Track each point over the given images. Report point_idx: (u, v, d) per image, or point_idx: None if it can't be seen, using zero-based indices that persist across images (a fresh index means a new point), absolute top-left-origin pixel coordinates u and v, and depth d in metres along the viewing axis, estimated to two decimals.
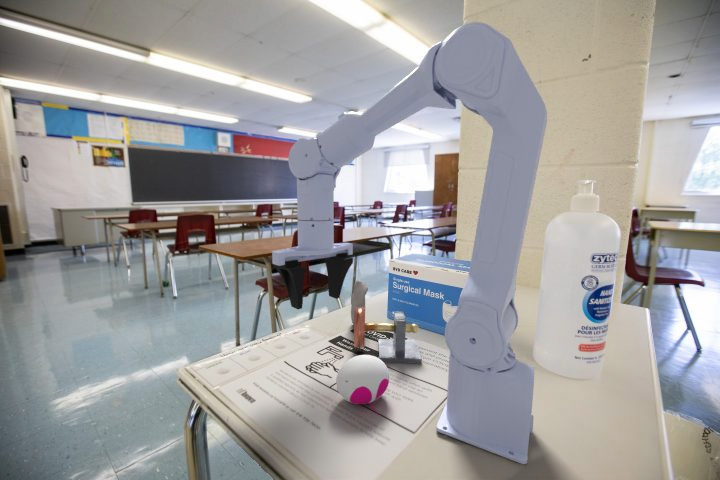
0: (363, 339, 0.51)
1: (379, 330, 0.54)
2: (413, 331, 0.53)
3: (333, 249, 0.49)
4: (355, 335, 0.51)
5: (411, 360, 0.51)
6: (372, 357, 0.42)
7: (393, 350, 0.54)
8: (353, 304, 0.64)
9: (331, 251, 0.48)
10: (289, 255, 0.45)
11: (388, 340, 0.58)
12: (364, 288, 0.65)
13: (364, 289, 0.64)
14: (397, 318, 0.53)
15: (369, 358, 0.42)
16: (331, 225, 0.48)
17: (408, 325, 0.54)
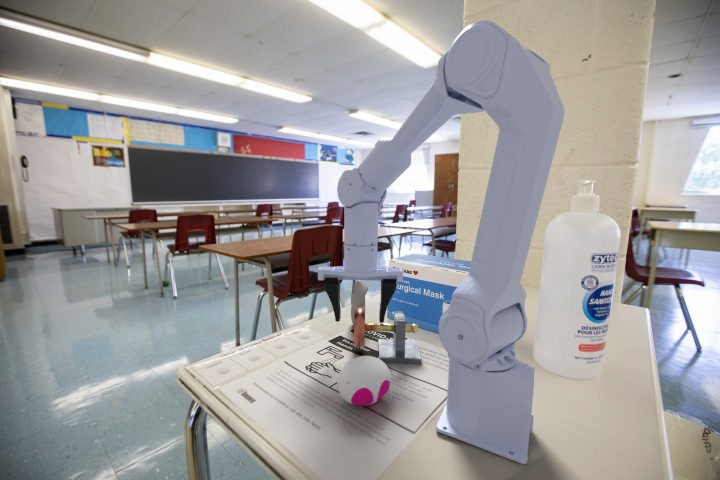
0: (363, 339, 0.51)
1: (379, 330, 0.54)
2: (413, 331, 0.53)
3: (368, 274, 0.50)
4: (355, 335, 0.51)
5: (411, 360, 0.51)
6: (373, 358, 0.42)
7: (393, 350, 0.54)
8: (353, 304, 0.64)
9: (365, 275, 0.50)
10: (327, 273, 0.52)
11: (388, 340, 0.58)
12: (364, 288, 0.65)
13: (364, 289, 0.64)
14: (397, 318, 0.53)
15: (370, 359, 0.41)
16: (367, 250, 0.50)
17: (408, 325, 0.54)
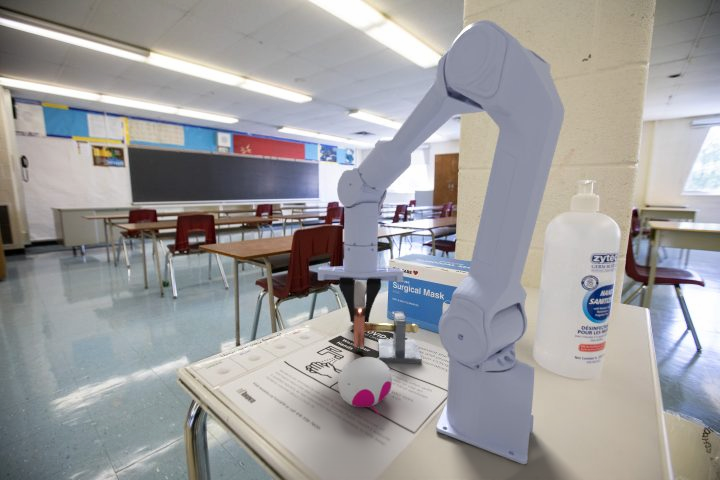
0: (363, 339, 0.51)
1: (378, 330, 0.54)
2: (413, 331, 0.53)
3: (368, 274, 0.50)
4: (355, 335, 0.51)
5: (411, 360, 0.51)
6: (374, 359, 0.42)
7: (393, 350, 0.54)
8: None
9: (365, 275, 0.50)
10: (327, 273, 0.52)
11: (388, 340, 0.58)
12: (364, 288, 0.65)
13: (364, 289, 0.64)
14: (397, 318, 0.53)
15: (371, 360, 0.41)
16: (367, 250, 0.50)
17: (408, 325, 0.54)
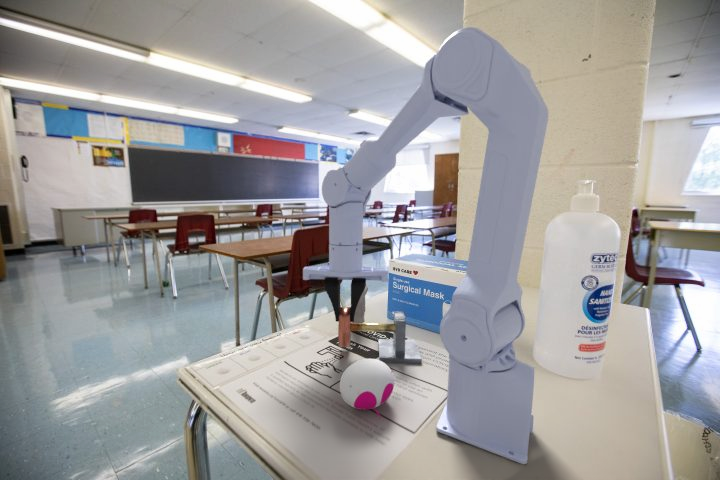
0: (348, 339, 0.51)
1: (364, 329, 0.54)
2: None
3: (353, 273, 0.50)
4: (340, 335, 0.51)
5: (411, 360, 0.51)
6: (376, 361, 0.41)
7: (393, 350, 0.54)
8: None
9: (349, 275, 0.50)
10: (312, 272, 0.52)
11: (388, 340, 0.58)
12: None
13: (364, 289, 0.64)
14: (397, 318, 0.53)
15: (373, 362, 0.41)
16: (351, 250, 0.50)
17: (393, 325, 0.54)
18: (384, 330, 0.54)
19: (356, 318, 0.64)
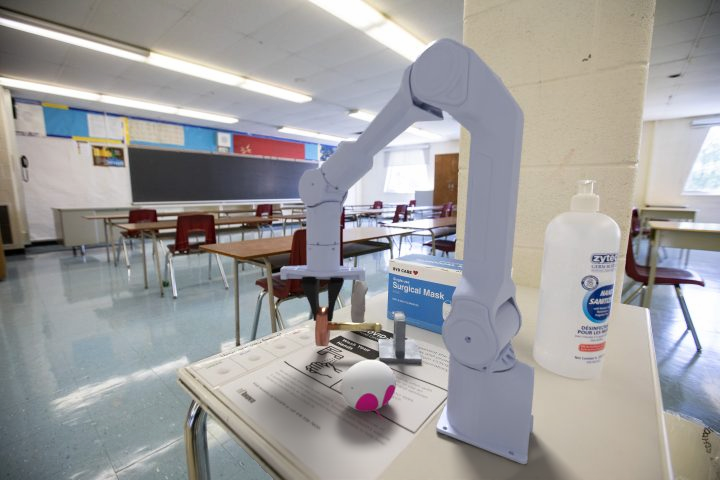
0: (324, 338, 0.51)
1: (342, 329, 0.54)
2: (376, 330, 0.54)
3: (329, 273, 0.50)
4: (316, 334, 0.51)
5: (411, 360, 0.51)
6: (378, 362, 0.41)
7: (393, 350, 0.54)
8: (353, 304, 0.64)
9: (326, 274, 0.50)
10: (289, 272, 0.52)
11: (388, 340, 0.58)
12: (364, 288, 0.65)
13: (364, 289, 0.64)
14: (397, 318, 0.53)
15: (375, 363, 0.40)
16: (327, 250, 0.50)
17: (371, 324, 0.54)
18: (362, 329, 0.54)
19: (356, 318, 0.64)
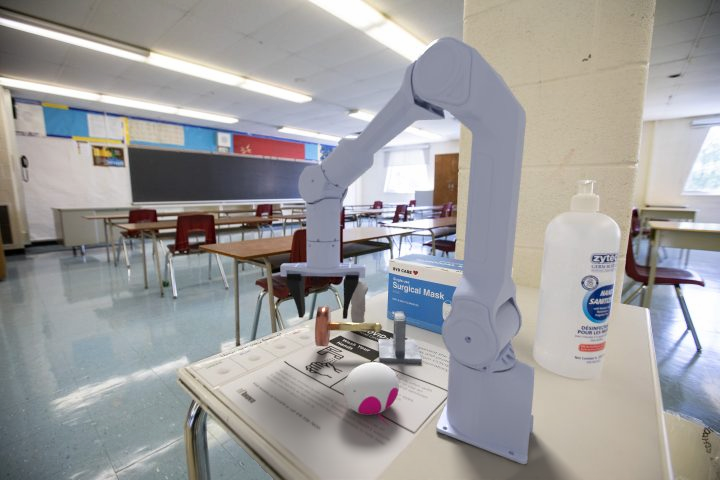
0: (324, 338, 0.51)
1: (342, 329, 0.54)
2: (376, 330, 0.54)
3: (329, 270, 0.50)
4: (316, 334, 0.51)
5: (411, 360, 0.51)
6: (381, 365, 0.40)
7: (393, 350, 0.54)
8: (353, 304, 0.64)
9: (326, 271, 0.50)
10: (289, 269, 0.52)
11: (388, 340, 0.58)
12: (364, 288, 0.65)
13: (364, 289, 0.64)
14: (397, 318, 0.53)
15: (377, 366, 0.40)
16: (327, 246, 0.50)
17: (371, 324, 0.54)
18: (362, 329, 0.54)
19: (356, 318, 0.64)
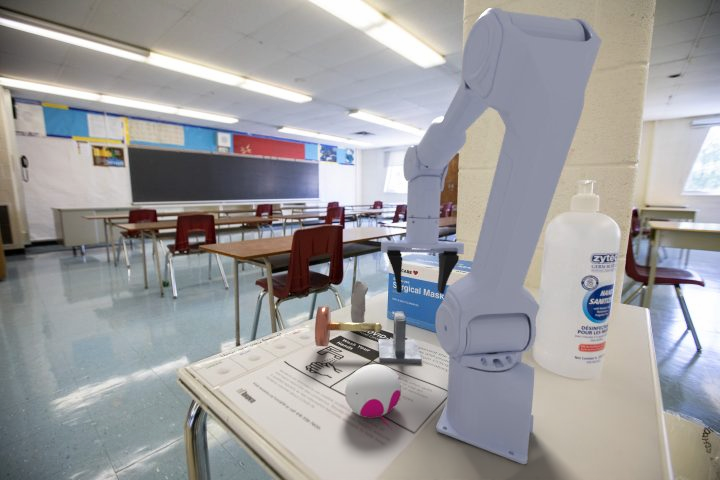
0: (324, 338, 0.51)
1: (342, 329, 0.54)
2: (376, 330, 0.54)
3: (432, 245, 0.52)
4: (316, 334, 0.51)
5: (411, 360, 0.51)
6: (383, 367, 0.40)
7: (393, 350, 0.54)
8: (353, 304, 0.64)
9: (429, 246, 0.52)
10: (390, 245, 0.54)
11: (388, 340, 0.58)
12: (364, 288, 0.65)
13: (364, 289, 0.64)
14: (397, 318, 0.53)
15: (380, 368, 0.39)
16: (432, 223, 0.52)
17: (371, 324, 0.54)
18: (362, 329, 0.54)
19: (356, 318, 0.64)
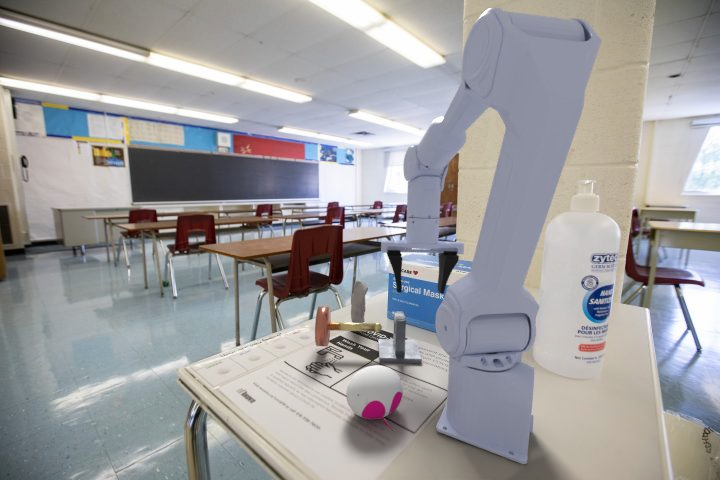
0: (324, 338, 0.51)
1: (342, 329, 0.54)
2: (376, 330, 0.54)
3: (432, 245, 0.52)
4: (316, 334, 0.51)
5: (411, 360, 0.51)
6: (384, 368, 0.40)
7: (393, 350, 0.54)
8: (353, 304, 0.64)
9: (429, 246, 0.52)
10: (390, 245, 0.54)
11: (388, 340, 0.58)
12: (364, 288, 0.65)
13: (364, 289, 0.64)
14: (397, 318, 0.53)
15: (381, 369, 0.39)
16: (432, 223, 0.52)
17: (371, 324, 0.54)
18: (362, 329, 0.54)
19: (356, 318, 0.64)
